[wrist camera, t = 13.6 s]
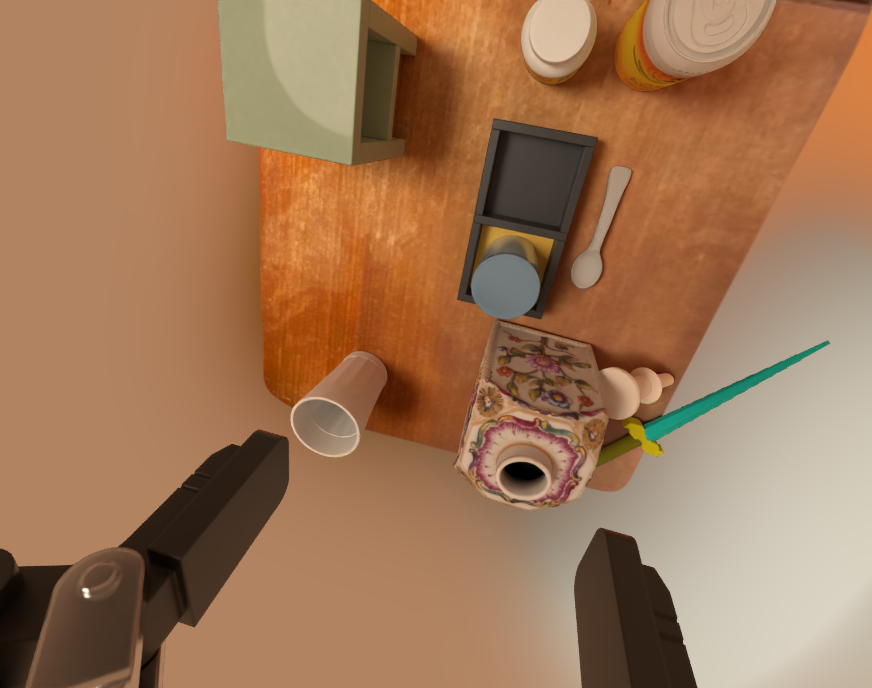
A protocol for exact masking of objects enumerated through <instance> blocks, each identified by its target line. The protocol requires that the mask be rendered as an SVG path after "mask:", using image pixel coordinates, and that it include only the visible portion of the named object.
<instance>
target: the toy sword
mask: <svg viewBox="0 0 872 688" xmlns="http://www.w3.org/2000/svg"><path fill="white" fill-rule="evenodd" d="M828 344H830V343H829V341H826V342H823V343H821V344H819V345H817V346H815V347H813V348H810V349H808V350H806V351H804V352H802V353H799V354H796V355H794V356H792V357H790V358H788V359H786V360H785V361H781V362H779V363H777V364H775V365H773V366H771V367H769V368H766V369H764V370H762V371H760V372H758V373H756V374H753V375H750V376H749V377H747V378H745V379H743V380H740V381H737V382H736V383H733V384H732V385H730V386H727V387H725V388H722V389H721V390H718V391H717V392H715V393H712V394H709V395H707V396H705V397H704V398H701V399H699V400H696V401H694V402H692V403H691V404H688V405H686V406H683V407H681V408H680V409H677V410H675V411H673V412H670V413H668V414H667V415H664V416H662V417H659V418H657V419H656V420H653V421H651V422H648V423H646V424H644V425H642V423H641V422H640V420H639V419H636V418H633V417H628V418H626V419H622V420H620V421H621V423H622V426H623V427H625V428H628V431H629V433H630V434H629V435H627V436H626V437H624V438H622V439H620V440H618V441H616V442H614V443H612V444H610V445H608V446H606V447H604V448H602V449H601V450H600V455H599V457H598V461H597V465H596V467H598V466H600V465H602V464H604V463H606V462H608V461H610V460H612V459H614V458H616V457H618V456H620V455H622V454H624V453H626V452H628V451H630V450H632V449H634V448H636V447H638V446H640V445H641V447H642V449H643V450H644V451H645V452H646V453H647V454H651V455H654V456H656V457H658V456H659V455H661V454H662V453H664V451H663V450H662V448H661V446H660V445H659V444H657V442H656V440H658V439H660V438H661V437H663V436H664V435H666V434H669V433H670V432H672V431H673V430H675V429H677V428H680V427H681V426H683V425H684V424H686V423H688V422H690V421H692V420H694V419H695V418H697V417H699V416H700V415H703V414H705V413H706V412H708V411H710V410H711V409H713V408H715V407H717V406H719V405H720V404H722V403H724V402H726V401H728V400H730V399H732V398H733V397H735V396H736V395H738V394H740V393H742V392H745V391H746V390H747V389H749V388H751V387H753V386H755V385H757V384H759V383H760V382H762V381H764V380H765V379H768V378H769V377H772V376H773V375H774V374H776V373H778V372H780V371H782V370H784V369H786V368H787V367H789V366H791V365H793V364H795V363H797V362H799V361H800V360H802V359H803V358H805V357H807V356H808V355H810V354H812V353H814V352H816V351H817V350H819V349H821V348H822V347H825V346H826V345H828ZM596 467H595V468H596Z"/></svg>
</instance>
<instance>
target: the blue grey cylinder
mask: <svg viewBox="0 0 872 688" xmlns="http://www.w3.org/2000/svg"><path fill="white" fill-rule="evenodd" d="M471 291H472V295H473V298H474V301H475V302H476V304H477V305H478V307H479V308H480V309H481V310H482V311H484V312H485V313H486V314H488V315H490V316H492V317H495V318H499V319H512V318H516V317H519V316H521V315H523V314H525V313H526V312H528V311H529V310H530V309H531V308H532V307H533V306H534V304H535V303H536V301H537V299H538V296H539V292H540V278H539V256H538V253H537V251H536V249H535V247H534V246H533V244H532V243H531V242H529V241H528V240H527V239H525V238H523V237H521V236H517V235H504V236H501V237H498V238H496V239H495V240H493V241H492V242H491V243H490V244H489V245H488V246H487V247H486V249H485V251H484V253H483V255H482V258H481V260H480V262H479V265H478V267H477V269H476V270H475V273H474V275H473V278H472V282H471Z"/></svg>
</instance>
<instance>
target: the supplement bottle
mask: <svg viewBox="0 0 872 688" xmlns="http://www.w3.org/2000/svg"><path fill="white" fill-rule="evenodd" d="M596 33H597V18H596V13H595V10H594V8H593V5H592V4H591V2H590V0H537V1H536V2H535V4H534V5H533V6H532V8H531V9H530V11H529V12H528V14H527V16H526V18H525V21H524V24H523V28H522V33H521V48H522V53H523V57H524V61H525V64H526V67H527V69H528V72H529V73H530V74H531V76H532V77H533V78H534V79H535V80H537V81H538V82H540V83H543V84H548V85H553V84H559V83H562V82H564V81H566V80H568V79H570V78H571V77H572V76H573V75H574V74H575V73H576V72H577V71H578V70H579V69H580V67H581V66H582V64H583V63H584V62H585V61H586V59H587V57H588V56H589V54H590V52H591V50H592V48H593V45H594V42H595V39H596Z"/></svg>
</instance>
